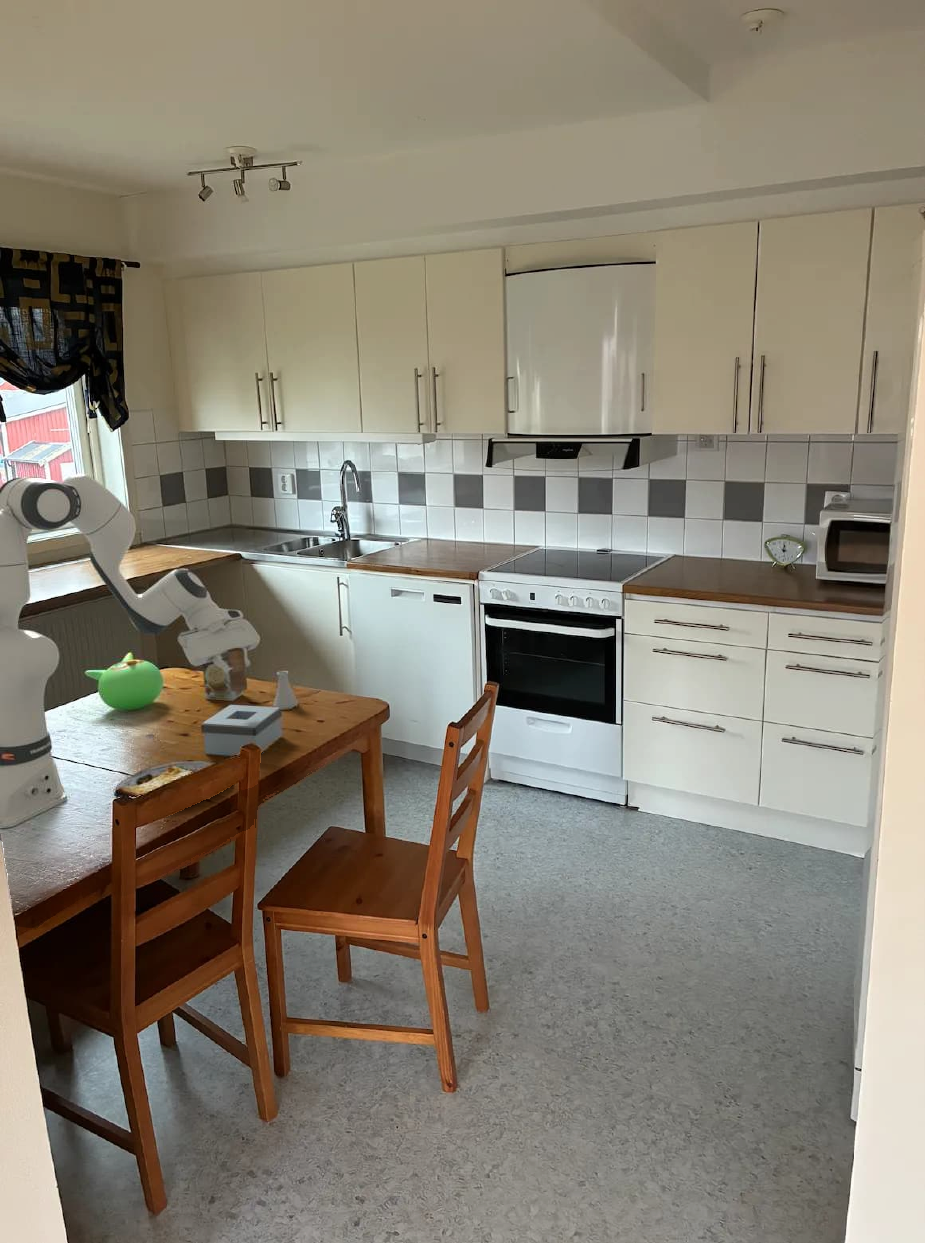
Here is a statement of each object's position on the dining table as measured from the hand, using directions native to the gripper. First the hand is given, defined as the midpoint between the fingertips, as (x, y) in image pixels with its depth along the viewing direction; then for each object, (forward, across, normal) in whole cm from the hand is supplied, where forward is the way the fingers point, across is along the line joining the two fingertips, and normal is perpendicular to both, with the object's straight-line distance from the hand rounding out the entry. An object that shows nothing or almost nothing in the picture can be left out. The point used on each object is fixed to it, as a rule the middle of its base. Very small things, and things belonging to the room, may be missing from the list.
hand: (238, 668), depth 232 cm
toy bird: (-22, +3, +52) cm, 56 cm away
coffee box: (-12, +23, +41) cm, 48 cm away
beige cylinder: (+3, 0, +4) cm, 5 cm away
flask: (+4, +27, +25) cm, 37 cm away
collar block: (+14, 0, +15) cm, 20 cm away
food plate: (+20, -27, +10) cm, 35 cm away
